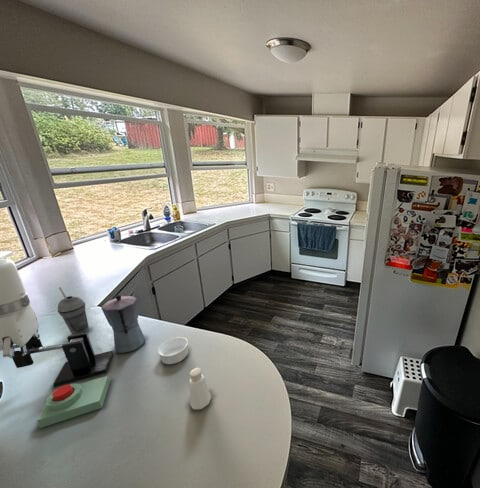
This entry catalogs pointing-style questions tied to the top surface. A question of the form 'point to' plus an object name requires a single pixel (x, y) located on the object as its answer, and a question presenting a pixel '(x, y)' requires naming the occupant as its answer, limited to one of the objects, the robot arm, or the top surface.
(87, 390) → the control block
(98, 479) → the top surface
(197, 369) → the pepper shaker
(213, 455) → the top surface
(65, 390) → the stop button
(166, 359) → the ramekin
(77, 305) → the beverage cup
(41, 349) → the lever
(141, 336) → the moka pot
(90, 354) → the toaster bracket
